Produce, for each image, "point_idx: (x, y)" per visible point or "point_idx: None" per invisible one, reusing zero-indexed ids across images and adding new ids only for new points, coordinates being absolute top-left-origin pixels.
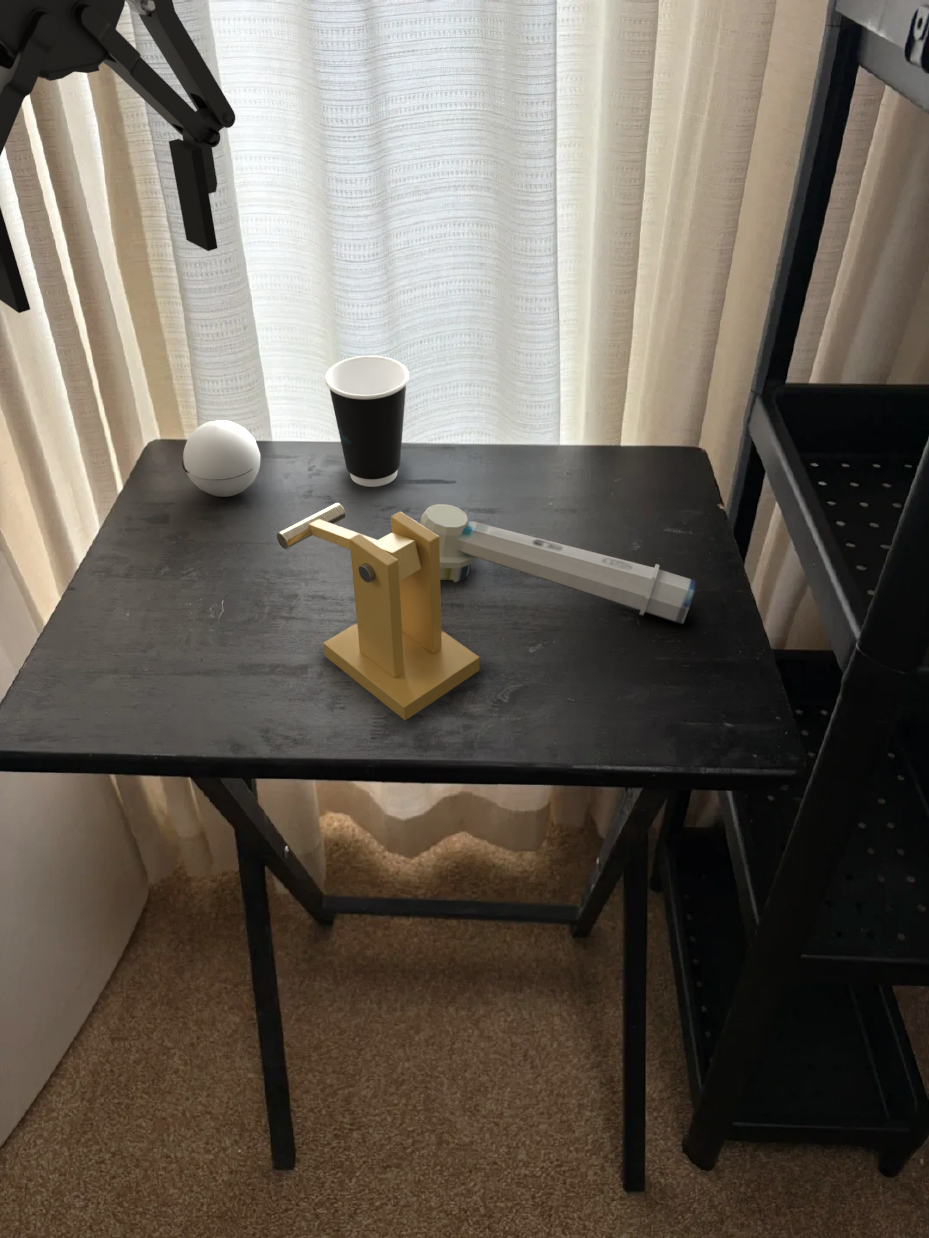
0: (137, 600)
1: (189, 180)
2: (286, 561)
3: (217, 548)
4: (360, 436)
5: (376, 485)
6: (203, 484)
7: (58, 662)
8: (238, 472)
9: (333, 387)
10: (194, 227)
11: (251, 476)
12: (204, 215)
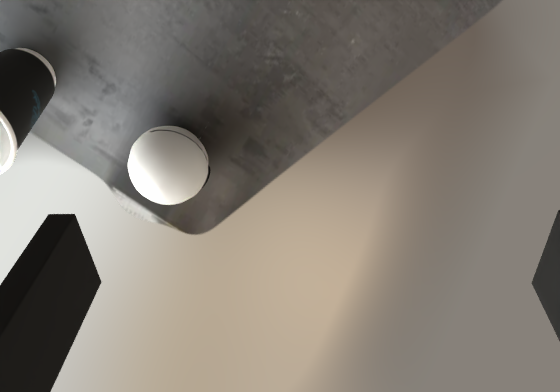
0: (334, 54)
1: (6, 378)
2: (180, 5)
3: (230, 73)
4: (17, 82)
5: (35, 52)
6: (202, 146)
7: (442, 22)
8: (166, 133)
9: (10, 137)
10: (71, 280)
11: (154, 128)
12: (29, 277)
